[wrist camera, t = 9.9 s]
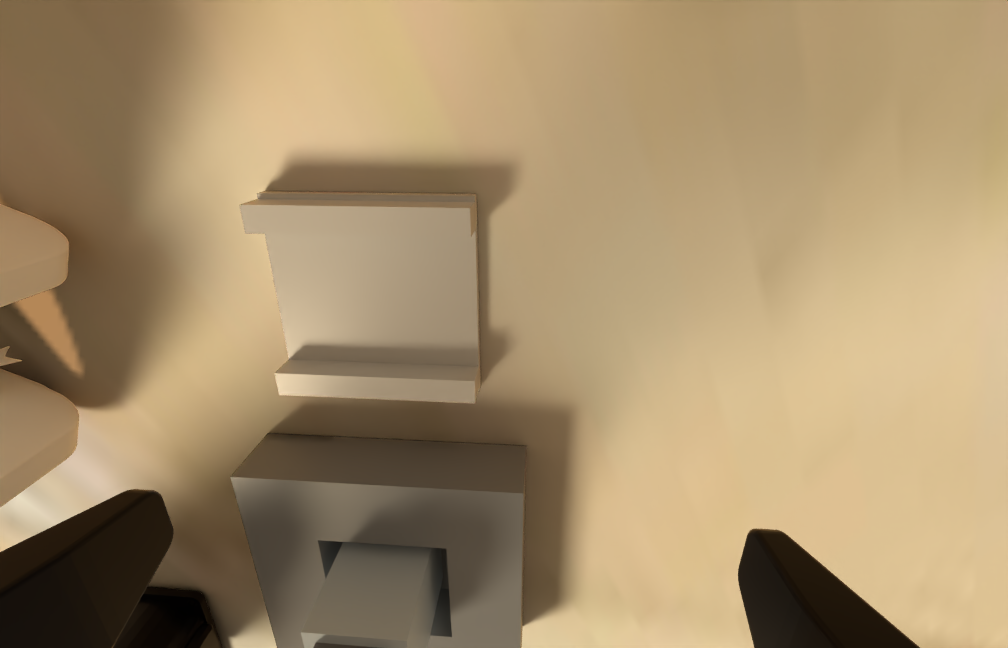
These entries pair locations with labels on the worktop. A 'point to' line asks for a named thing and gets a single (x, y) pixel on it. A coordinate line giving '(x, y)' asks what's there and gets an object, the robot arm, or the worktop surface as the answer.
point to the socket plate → (389, 525)
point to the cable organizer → (7, 396)
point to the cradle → (374, 292)
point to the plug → (376, 598)
